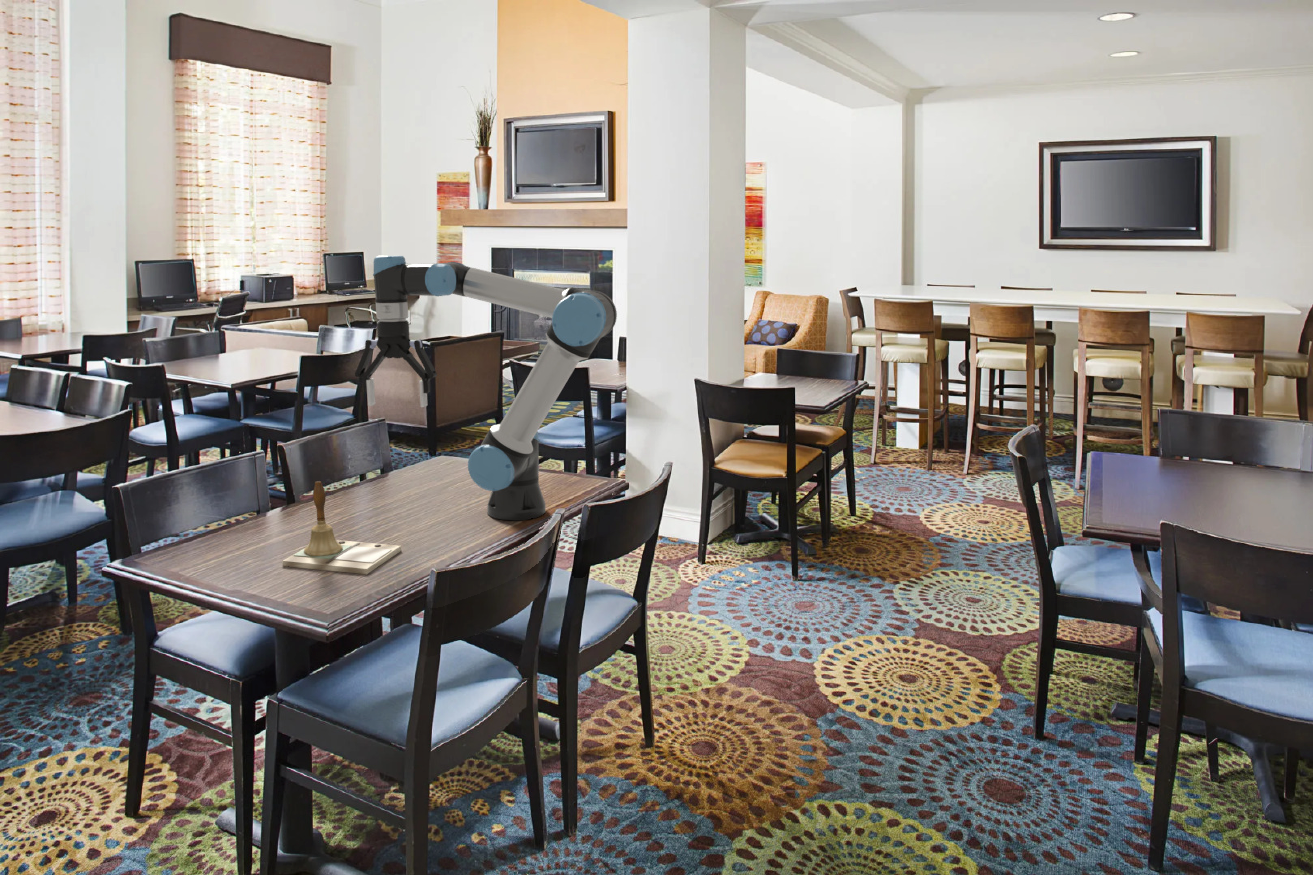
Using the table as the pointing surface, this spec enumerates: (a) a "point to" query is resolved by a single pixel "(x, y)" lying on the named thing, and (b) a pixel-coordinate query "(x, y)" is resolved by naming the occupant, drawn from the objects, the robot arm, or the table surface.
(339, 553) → the slot board
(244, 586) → the table surface
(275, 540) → the table surface
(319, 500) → the hand bell
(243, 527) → the table surface
